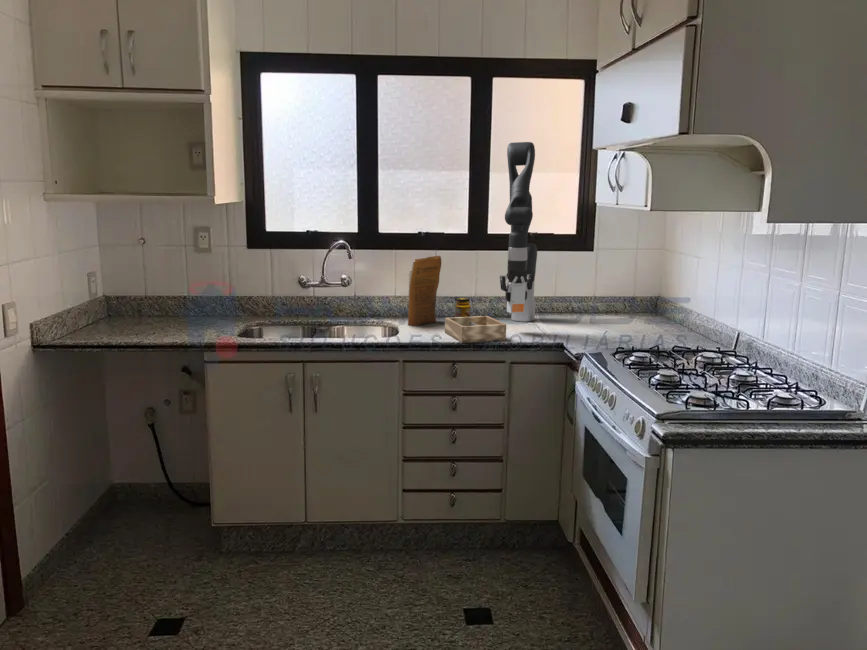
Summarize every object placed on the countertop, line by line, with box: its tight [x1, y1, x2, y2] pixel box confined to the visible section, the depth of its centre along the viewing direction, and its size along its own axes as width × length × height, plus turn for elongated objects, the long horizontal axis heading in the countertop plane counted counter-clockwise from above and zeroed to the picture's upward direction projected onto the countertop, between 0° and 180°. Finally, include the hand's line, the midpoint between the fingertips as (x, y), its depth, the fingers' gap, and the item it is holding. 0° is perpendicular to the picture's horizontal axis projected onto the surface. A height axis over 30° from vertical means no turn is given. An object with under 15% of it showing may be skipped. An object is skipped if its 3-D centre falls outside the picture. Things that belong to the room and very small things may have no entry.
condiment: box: [454, 297, 471, 317], centre depth 295 cm, size 7×8×12 cm
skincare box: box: [506, 282, 526, 314], centre depth 286 cm, size 6×4×12 cm
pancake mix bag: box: [407, 255, 442, 327], centre depth 300 cm, size 7×19×28 cm, turn 135°
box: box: [444, 315, 507, 344], centre depth 279 cm, size 18×18×6 cm
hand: (516, 300), depth 286 cm, fingers closed on skincare box, 6 cm apart
